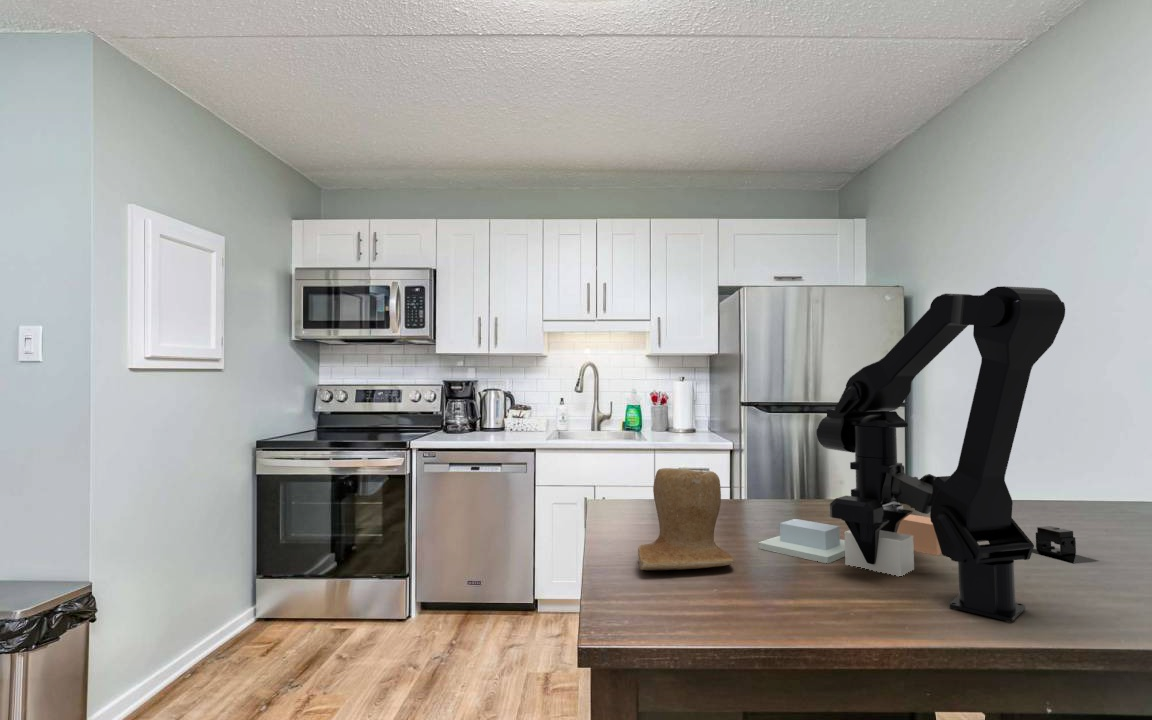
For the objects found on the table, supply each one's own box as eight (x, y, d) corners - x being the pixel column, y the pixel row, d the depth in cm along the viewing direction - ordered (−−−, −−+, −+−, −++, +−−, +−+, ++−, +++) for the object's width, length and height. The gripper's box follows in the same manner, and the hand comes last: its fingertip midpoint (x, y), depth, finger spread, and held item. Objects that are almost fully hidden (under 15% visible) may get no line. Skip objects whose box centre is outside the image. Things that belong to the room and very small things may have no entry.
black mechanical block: (1115, 566, 93) (1113, 536, 93) (1079, 571, 91) (1077, 540, 91) (1034, 546, 105) (1033, 519, 105) (1001, 549, 103) (1000, 522, 103)
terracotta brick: (937, 556, 97) (935, 525, 98) (887, 546, 104) (886, 516, 104) (951, 551, 100) (950, 520, 100) (902, 541, 107) (901, 512, 107)
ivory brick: (900, 577, 87) (899, 541, 87) (845, 564, 93) (844, 531, 93) (914, 569, 90) (913, 535, 90) (859, 558, 96) (858, 526, 96)
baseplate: (827, 563, 93) (827, 537, 93) (758, 548, 102) (757, 524, 102) (861, 549, 101) (861, 525, 101) (794, 536, 110) (794, 514, 110)
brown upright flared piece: (713, 552, 100) (711, 461, 101) (743, 574, 88) (741, 471, 89) (623, 556, 98) (622, 463, 99) (642, 580, 86) (640, 474, 87)
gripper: (909, 467, 80) (912, 587, 79) (956, 455, 92) (959, 559, 92) (826, 459, 88) (829, 568, 88) (880, 449, 101) (883, 545, 100)
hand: (878, 560), depth 91 cm, fingers closed on ivory brick, 5 cm apart
